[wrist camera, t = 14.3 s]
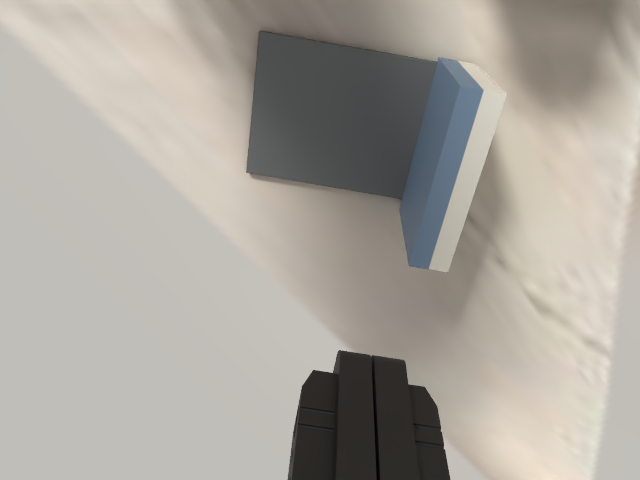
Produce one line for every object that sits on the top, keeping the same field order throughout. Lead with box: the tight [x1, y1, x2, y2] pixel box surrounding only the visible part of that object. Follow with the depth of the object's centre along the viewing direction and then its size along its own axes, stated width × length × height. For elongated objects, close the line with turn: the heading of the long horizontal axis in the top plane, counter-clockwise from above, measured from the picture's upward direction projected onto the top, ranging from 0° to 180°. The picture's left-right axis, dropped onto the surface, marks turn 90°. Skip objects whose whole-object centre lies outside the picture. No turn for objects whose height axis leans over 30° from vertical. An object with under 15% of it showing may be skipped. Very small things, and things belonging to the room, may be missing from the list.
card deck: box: [400, 58, 507, 272], centre depth 27 cm, size 6×2×9 cm
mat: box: [246, 31, 438, 199], centre depth 30 cm, size 8×12×1 cm, turn 81°
